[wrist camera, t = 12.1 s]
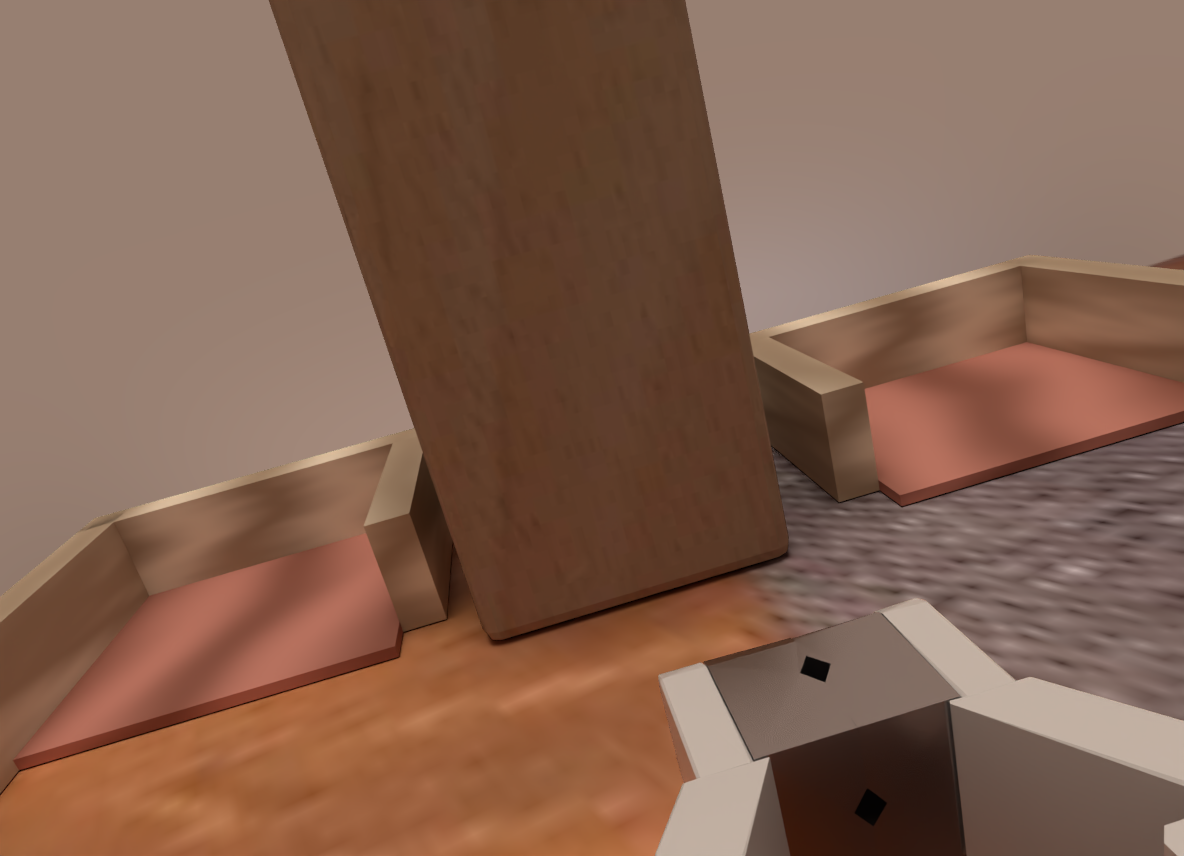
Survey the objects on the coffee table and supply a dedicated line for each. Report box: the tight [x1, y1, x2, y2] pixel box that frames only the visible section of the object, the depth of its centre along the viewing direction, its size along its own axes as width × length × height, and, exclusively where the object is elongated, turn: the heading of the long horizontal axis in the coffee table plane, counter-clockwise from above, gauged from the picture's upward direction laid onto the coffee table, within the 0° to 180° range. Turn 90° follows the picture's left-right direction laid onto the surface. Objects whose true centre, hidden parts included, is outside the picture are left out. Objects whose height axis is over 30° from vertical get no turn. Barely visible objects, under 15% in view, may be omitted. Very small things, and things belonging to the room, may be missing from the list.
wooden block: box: [269, 0, 789, 640], centre depth 26 cm, size 10×10×20 cm
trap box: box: [0, 255, 1184, 793], centre depth 25 cm, size 44×23×4 cm, turn 98°
